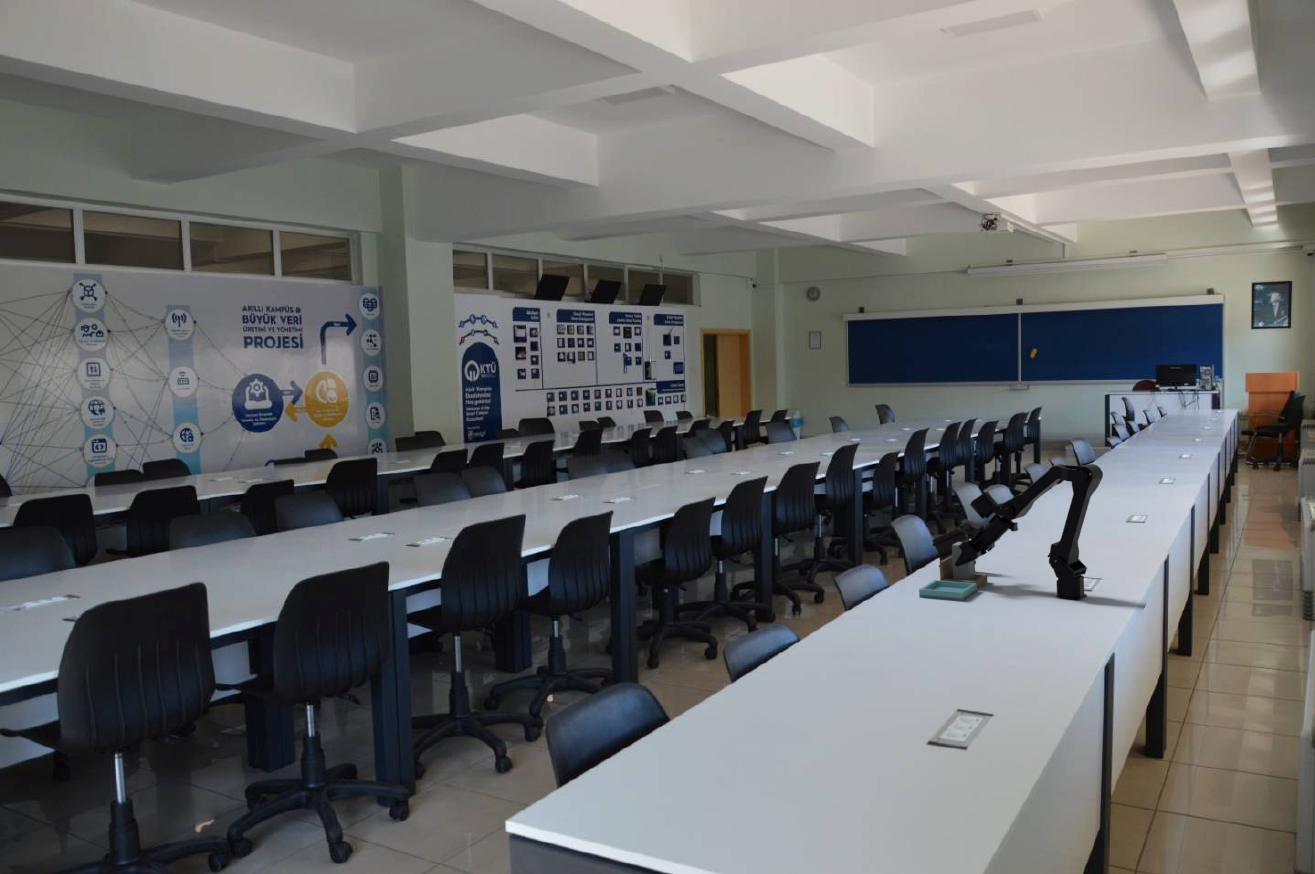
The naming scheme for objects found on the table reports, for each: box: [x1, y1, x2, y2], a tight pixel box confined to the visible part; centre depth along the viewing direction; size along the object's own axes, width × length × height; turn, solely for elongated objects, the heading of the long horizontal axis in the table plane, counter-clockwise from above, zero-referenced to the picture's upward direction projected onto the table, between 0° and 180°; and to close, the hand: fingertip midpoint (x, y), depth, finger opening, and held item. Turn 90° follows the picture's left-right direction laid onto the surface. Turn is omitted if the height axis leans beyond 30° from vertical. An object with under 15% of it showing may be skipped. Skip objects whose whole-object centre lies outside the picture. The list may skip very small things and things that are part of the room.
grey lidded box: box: [952, 542, 976, 581], centre depth 304 cm, size 5×6×13 cm
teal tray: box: [918, 579, 978, 602], centre depth 294 cm, size 13×14×2 cm
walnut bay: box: [939, 555, 988, 590], centre depth 304 cm, size 11×12×8 cm
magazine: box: [931, 528, 977, 572], centre depth 324 cm, size 4×13×15 cm, turn 60°
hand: (958, 563), depth 305 cm, fingers closed on grey lidded box, 5 cm apart
